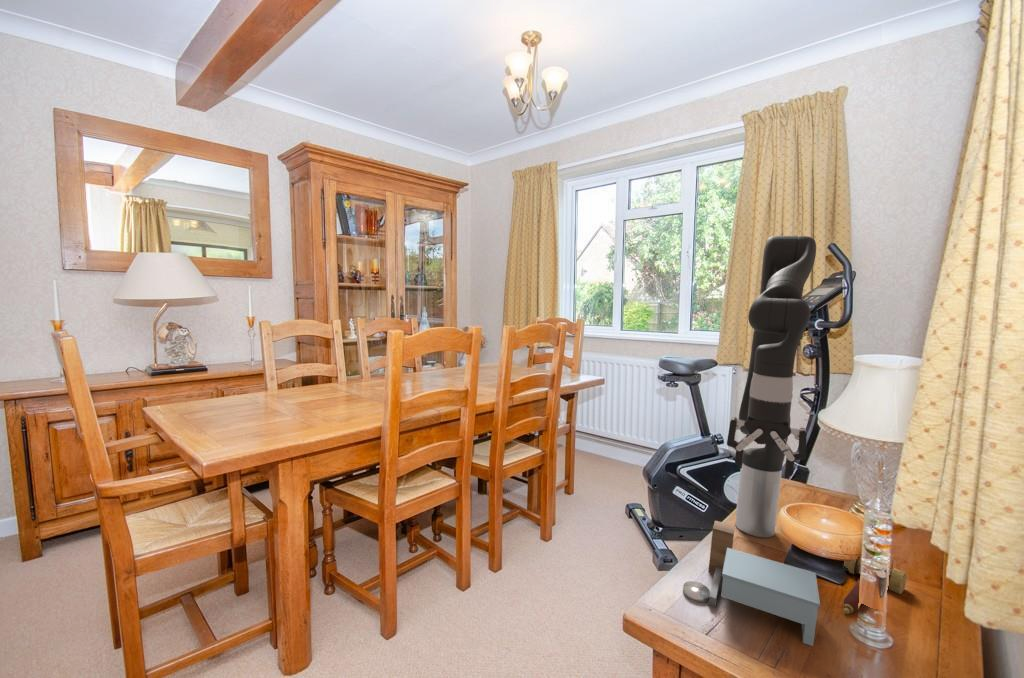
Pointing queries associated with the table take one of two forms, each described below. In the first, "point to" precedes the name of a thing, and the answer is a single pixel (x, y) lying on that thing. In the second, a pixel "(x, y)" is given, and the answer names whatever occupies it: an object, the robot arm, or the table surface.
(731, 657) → the table surface
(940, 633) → the table surface
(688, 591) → the silver metal disc
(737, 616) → the table surface
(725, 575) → the plinth shelf
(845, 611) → the gavel
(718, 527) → the wood grain block
